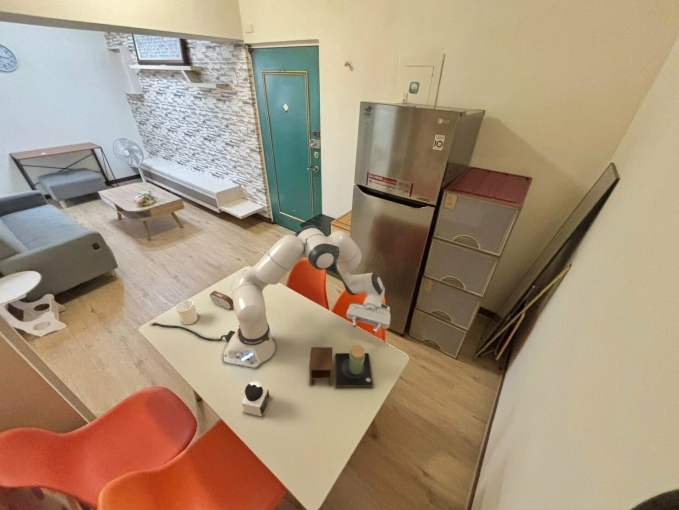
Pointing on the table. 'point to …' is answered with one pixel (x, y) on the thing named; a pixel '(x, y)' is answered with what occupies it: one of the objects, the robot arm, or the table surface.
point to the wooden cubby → (321, 363)
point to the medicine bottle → (255, 399)
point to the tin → (222, 300)
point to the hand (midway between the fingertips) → (364, 328)
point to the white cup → (187, 311)
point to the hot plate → (346, 377)
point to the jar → (356, 359)
